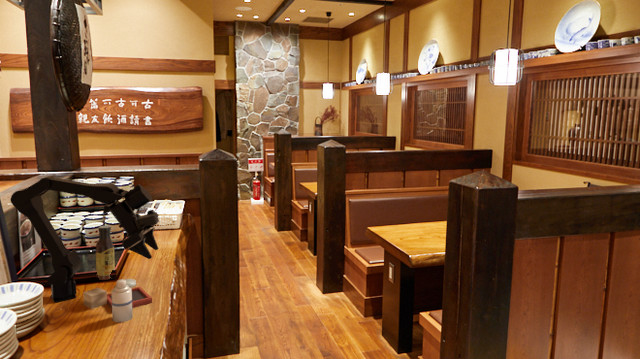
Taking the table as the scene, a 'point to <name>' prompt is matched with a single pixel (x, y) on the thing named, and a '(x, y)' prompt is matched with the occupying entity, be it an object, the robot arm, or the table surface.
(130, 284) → the glossy white dome
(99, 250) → the sauce bottle
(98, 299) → the wooden masu box
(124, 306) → the white sake bottle
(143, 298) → the lacquer tray
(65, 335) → the table surface
